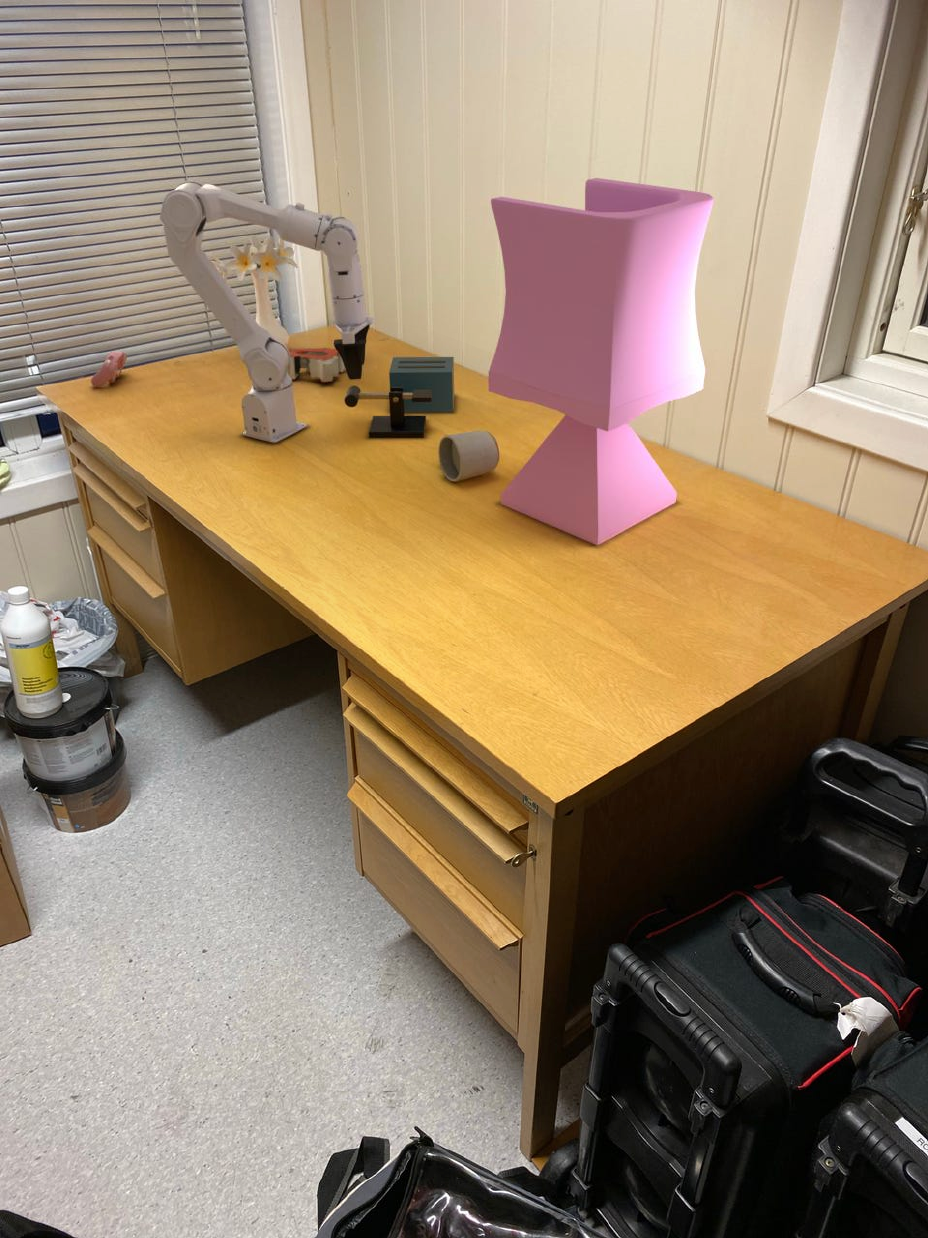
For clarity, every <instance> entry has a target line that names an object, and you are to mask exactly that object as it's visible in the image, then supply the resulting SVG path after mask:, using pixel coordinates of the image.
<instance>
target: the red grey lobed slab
mask: <svg viewBox="0 0 928 1238" xmlns="http://www.w3.org/2000/svg"><path fill="white" fill-rule="evenodd" d="M288 350H289V353H290V364H289V366H288V368H287V369H286V371H287V373H288V375H289V376H290V377H291V379H292V380H296V378H297V377H298V376H300V372H301V369H306V372H309V374H310V377H311V378H318V379H319V382H320V383H322V384H325V383H329V382H333V381H334V377H339V374H340V373H343V372H345V366H344V363H343V360H342V358H341V356H340V354H339V353H338V351H337V350H336V349H335V348H330V347H320V348H295V349H294V348H292V349H288Z"/></svg>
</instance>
